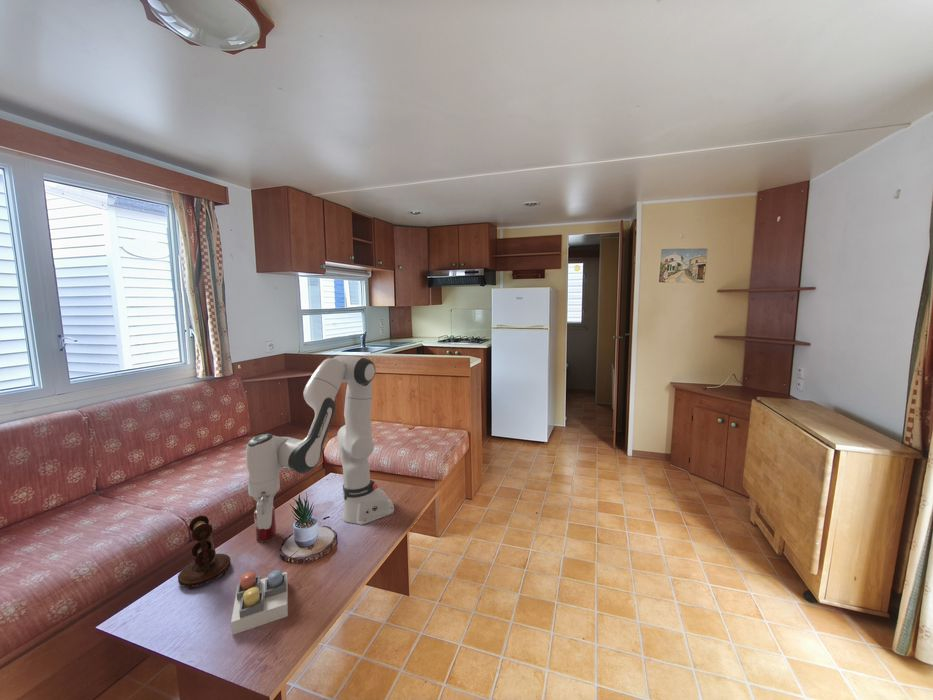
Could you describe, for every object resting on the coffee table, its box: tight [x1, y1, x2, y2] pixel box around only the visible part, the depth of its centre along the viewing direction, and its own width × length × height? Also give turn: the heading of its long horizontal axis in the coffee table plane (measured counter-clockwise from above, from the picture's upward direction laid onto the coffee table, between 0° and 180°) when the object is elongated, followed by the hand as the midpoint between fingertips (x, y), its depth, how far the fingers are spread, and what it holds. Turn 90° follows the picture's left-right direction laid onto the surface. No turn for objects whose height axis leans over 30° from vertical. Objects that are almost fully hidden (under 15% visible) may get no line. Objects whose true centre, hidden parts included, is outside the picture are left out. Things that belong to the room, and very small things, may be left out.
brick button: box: [239, 571, 257, 590], centre depth 114 cm, size 4×4×3 cm
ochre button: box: [243, 587, 260, 607], centre depth 107 cm, size 4×4×3 cm
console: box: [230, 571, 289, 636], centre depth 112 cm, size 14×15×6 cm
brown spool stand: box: [177, 515, 232, 590], centre depth 126 cm, size 15×15×20 cm
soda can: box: [253, 505, 278, 543], centre depth 147 cm, size 7×7×12 cm
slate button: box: [267, 569, 283, 588], centre depth 114 cm, size 4×4×3 cm
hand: (267, 526), depth 119 cm, fingers closed
